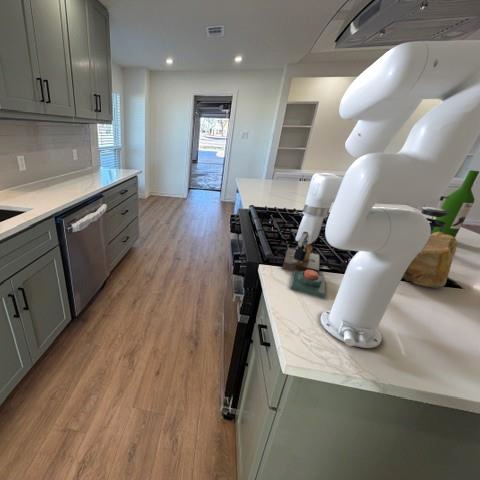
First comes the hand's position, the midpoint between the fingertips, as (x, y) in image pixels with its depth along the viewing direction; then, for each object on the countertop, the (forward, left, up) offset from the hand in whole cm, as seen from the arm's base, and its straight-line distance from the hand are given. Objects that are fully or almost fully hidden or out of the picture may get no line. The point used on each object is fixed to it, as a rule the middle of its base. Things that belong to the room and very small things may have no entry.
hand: (302, 255), depth 93 cm
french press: (+51, -45, +2) cm, 69 cm away
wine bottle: (+69, -57, -4) cm, 90 cm away
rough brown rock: (+16, -35, -4) cm, 39 cm away
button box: (-14, -3, -4) cm, 15 cm away
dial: (0, 0, -1) cm, 1 cm away
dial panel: (0, 0, -4) cm, 4 cm away
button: (-14, -3, -1) cm, 14 cm away
